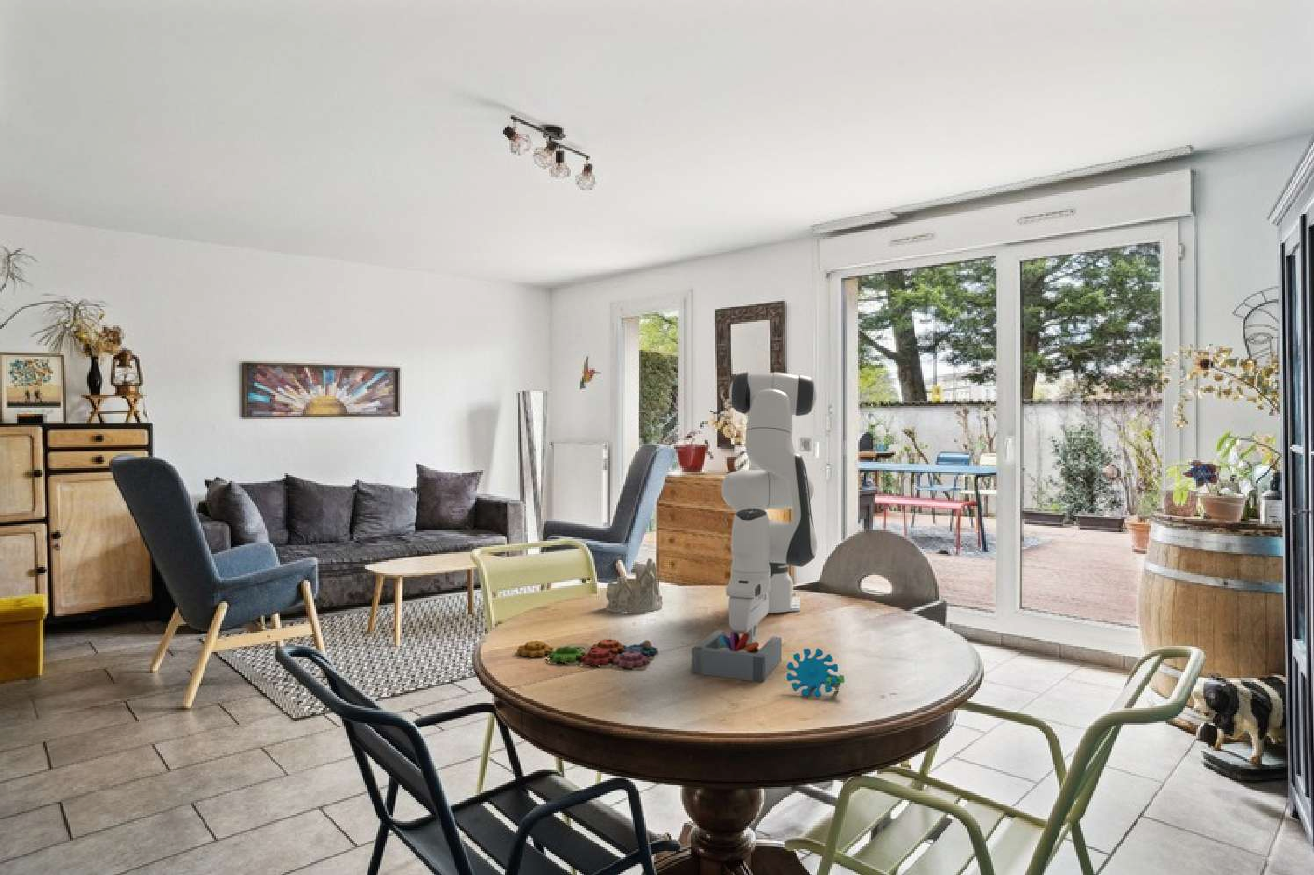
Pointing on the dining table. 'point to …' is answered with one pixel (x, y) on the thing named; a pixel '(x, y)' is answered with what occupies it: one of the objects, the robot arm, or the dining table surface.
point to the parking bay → (735, 659)
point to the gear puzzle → (595, 654)
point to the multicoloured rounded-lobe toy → (738, 643)
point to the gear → (814, 673)
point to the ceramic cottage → (636, 592)
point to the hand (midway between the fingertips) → (750, 643)
